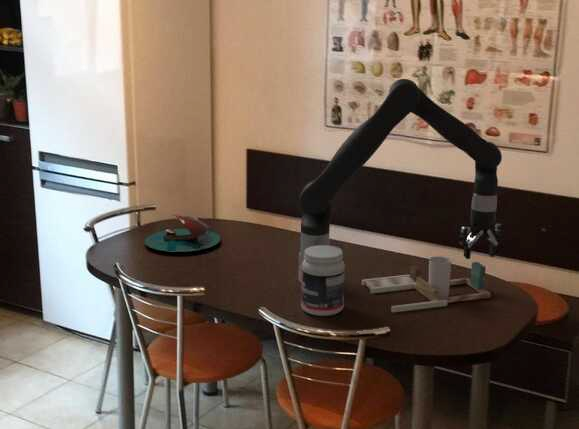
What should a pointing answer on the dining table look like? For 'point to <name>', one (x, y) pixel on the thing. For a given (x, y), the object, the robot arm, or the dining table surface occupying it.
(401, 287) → the lane rails
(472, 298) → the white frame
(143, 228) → the dining table surface
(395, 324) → the dining table surface
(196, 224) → the boat on round base
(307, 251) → the supplement tub
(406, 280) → the plain strip
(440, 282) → the mug
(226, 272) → the dining table surface
